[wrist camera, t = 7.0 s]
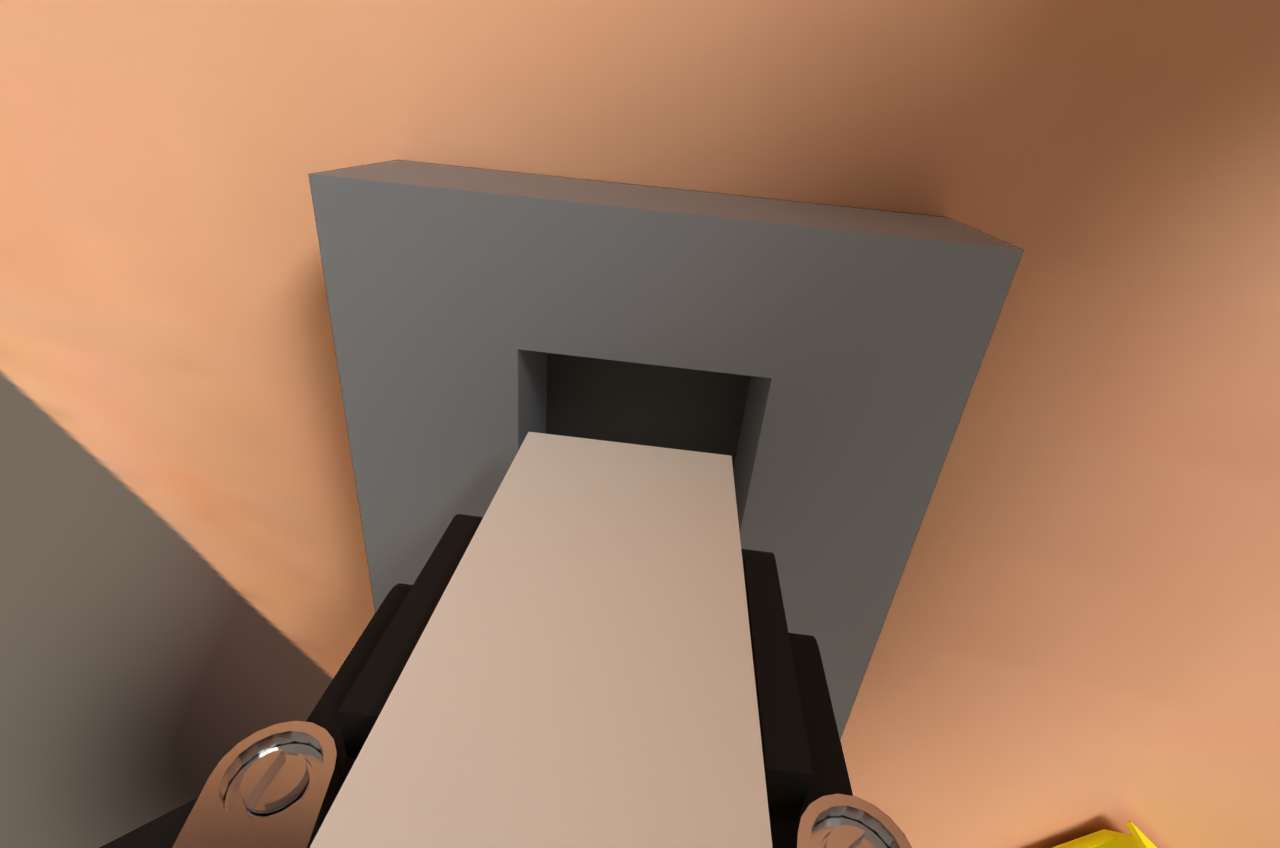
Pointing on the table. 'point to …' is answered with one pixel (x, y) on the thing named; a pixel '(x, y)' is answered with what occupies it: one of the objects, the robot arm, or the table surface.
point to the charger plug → (577, 671)
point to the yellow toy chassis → (1111, 840)
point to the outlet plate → (658, 361)
